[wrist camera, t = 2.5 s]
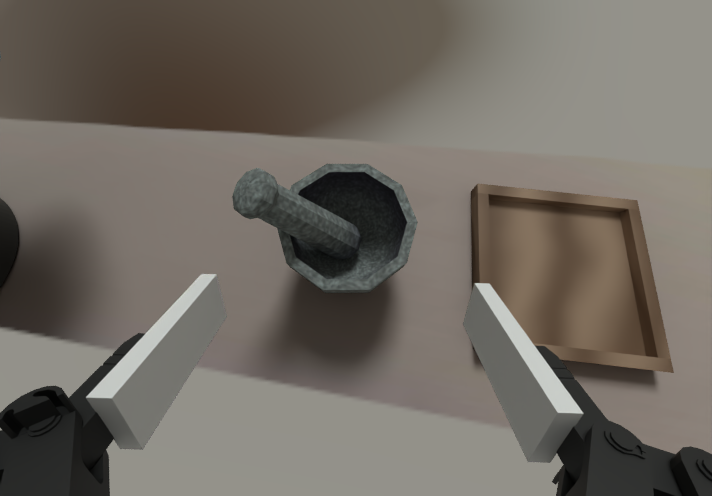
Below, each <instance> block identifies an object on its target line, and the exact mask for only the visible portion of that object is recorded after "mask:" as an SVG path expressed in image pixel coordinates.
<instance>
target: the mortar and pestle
mask: <svg viewBox="0 0 712 496" xmlns="http://www.w3.org/2000/svg"><path fill="white" fill-rule="evenodd" d="M233 205H234V209H235V210H236V211H237V212H238V213H240V214H241V215H242V216H244V217H246V218H249V219H253V218H260V219H262V220H263V221H265V222H267V223H269V224H271V225H273V226H275V227H277V229H278V233H279V237H280V240H281V244H282V248H283V252H284V255H285V259H286V263H287V264H288V265H289V266H290V267H291V268H292V269H294V270H295V271H296V272H298V273H299V274H300V275H302V276H303V277H304V278H306V279H307V280H308V281H310V282H311V283H313V284H314V285H315V286H317V287H318V288H319V289H321V290H322V291H323V292H325V293H359V292H370V291H372V290H373V289H374V288H376V287H377V286H378V285H380V284H381V283H382V282H384V281H385V280H386V279H388V278H389V277H390V276H392V275H393V274H394V273H396V272H397V271H398V270H400V269H401V268H402V267H404V265H405V264H406V263H407V259H408V256H409V252H410V248H411V244H412V241H413V237H414V233H415V230H416V226H417V220H416V217H415V215H414V213H413V210H412V208H411V206H410V203H409V201H408V199H407V196H406V194H405V192H404V189H403V187H402V185H400V184H399V183H397V182H396V181H394V180H392V179H391V178H389V177H388V176H386V175H384V174H383V173H381V172H379V171H378V170H376V169H375V168H373V167H371V166H370V165H368V164H326V165H324V166H322V167H321V168H319V169H318V170H316V171H314V172H313V173H311V174H309V175H308V176H306V177H305V178H303V179H301V180H300V181H298V182H297V183H295V184H293V185H292V186H291V189H290V190H288V189H286V188H284V187H282V186H280V185H278V184H277V182H276V180H275V177H274V176H272V175H270V174H269V173H267V172H265V171H263V170H261V169H260V168H256V169H253V170H251V171H248V172H246V173H245V174H244V175H243V177H242V178H241V179H240V180H239V181H238V182H237V184H236V187H235V190H234V193H233Z"/></svg>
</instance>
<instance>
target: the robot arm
mask: <svg viewBox="0 0 712 496" xmlns="http://www.w3.org/2000/svg"><path fill="white" fill-rule="evenodd" d="M0 58H1V56H0ZM17 246H18V227H17V222H16V219H15V216H14V214H13V212H12V210H11V209H10V207H9V206H8V205H7V204H6V203H5V202H4V201H3V200H2V199H1V198H0V286H1V285H2V283H3V282H4V280H5V278H6V276H7V275H8V273H9V271H10V269H11V266H12V264H13V261H14V258H15V255H16V251H17ZM226 317H227V314H226V310H225V306H224V302H223V298H222V294H221V290H220V286H219V282H218V277H217V274H201V275H200V276H199V277H198V278H197V280H196V281H195V282H194V283H193V284H192V285H191V286H190V287H189V288H188V289H187V290H186V291H185V292H184V293H183V294H182V295H181V297H180V298H179V299H178V300H177V301H176V302H175V303H174V304H173V305H172V306H171V307H170V308H169V309H168V310H167V311H166V313H165V314H164V315H163V316H162V317H161V318H160V319H159V320H158V321H157V322H156V323H155V324H154V325H153V326H152V327H151V328H150V330H149V331H148V332H147V333H146V334H142V333H138V334H137V335H135V336H134V337H132V338H130V339H129V340H127V341H126V342H124V343H123V344H122V345H121V346H120V347H119V348H118V349H117V350H116V351H115V352H114V353H113V355H112V356H110V357H109V358H108V359H107V360H106V361H105V362H104V364H103V366H100V367H99V368H98V369H97V370H96V371H95V372H94V373H93V374H92V375H91V376H90V377H89V378H88V379H87V381H85V382H84V383H83V384H82V385H81V386H80V387H79V388H78V389H77V390H76V391H75V392H74V393H73V394H72V396H70V397H69V398H68V397H67V395H66V394H65V393H64V391H63V390H62V388H59V387H57V386H46V387H43V388H40V389H36V390H33V391H31V392H29V393H27V394H25V395H23V396H21V397H20V398H18V399H17V400H15V401H14V402H12V403H11V404H9V405H8V406H7V407H6V408H5V409H4V410H3V411H2V412H1V413H0V428H1V429H2V431H0V496H110V491H109V490H110V488H109V457H108V453H107V451H106V449H107V447H108V446H109V444H110V443H111V442H112V440H113V439H114V440H115V442H116V443H117V445H118V446H119V448H120V449H143V448H144V447H145V445H146V443H147V442H148V440H149V439H150V437H151V436H152V434H153V433H154V431H155V429H156V428H157V426H158V425H159V423H160V421H161V420H162V418H163V417H164V415H165V413H166V412H167V410H168V409H169V407H170V405H171V404H172V402H173V401H174V399H175V398H176V396H177V395H178V393H179V391H180V390H181V388H182V387H183V385H184V383H185V382H186V380H187V379H188V377H189V375H190V374H191V372H192V371H193V369H194V368H195V366H196V364H197V363H198V361H199V360H200V358H201V357H202V355H203V353H204V352H205V350H206V349H207V347H208V345H209V344H210V342H211V341H212V339H213V338H214V336H215V334H216V333H217V331H218V330H219V328H220V326H221V325H222V323H223V322H224V320H225V319H226ZM463 325H464V327H465V329H466V331H467V333H468V336H469V338H470V340H471V342H472V344H473V346H474V348H475V350H476V353H477V355H478V357H479V359H480V361H481V363H482V365H483V368H484V370H485V372H486V374H487V376H488V378H489V380H490V382H491V385H492V387H493V389H494V391H495V393H496V395H497V397H498V399H499V402H500V404H501V406H502V408H503V410H504V412H505V414H506V417H507V419H508V421H509V423H510V425H511V427H512V429H513V431H514V433H515V436H516V438H517V440H518V442H519V444H520V446H521V448H522V451H523V453H524V455H525V457H526V459H527V461H528V462H548V463H550V462H551V461H552V459H553V458H554V456H555V455H556V453H557V454H558V456H559V457H560V459H561V461H562V463H563V464H564V465H563V466H562V468H561V469H560V471H559V472H558V473H557V474H556V476H555V477H554V479H553V481H552V482H553V483H554V484H557V482H558V481H559V482H558V488H557V494H556V496H712V454H710V453H708V452H706V451H704V450H702V449H698V448H694V447H683V448H682V449H681V450H680V451H679V452H678V453H677V454H673V453H669V452H666V451H663V450H660V449H657V448H654V447H651V446H648V445H645V444H642V442H641V441H640V440H639V439H638V438H637V437H636V436H634V435H633V434H632V433H631V432H630V431H628V430H627V429H625V428H624V427H622V426H621V425H618V424H616V423H613V422H611V421H608V420H607V418H606V417H605V416H604V415H603V413H602V412H601V411H600V410H599V408H598V407H597V406H596V405H595V403H594V402H593V401H592V399H591V398H590V397H589V396H588V394H587V393H586V392H585V391H584V389H583V388H582V387H581V385H580V384H579V383H578V382H577V380H575V379H574V377H573V375H572V374H571V373H570V371H569V370H567V368H566V366H565V365H564V364H563V363H562V361H561V360H560V359H559V357H558V356H557V355H555V354H554V353H553V352H552V351H550V350H549V349H548V348H547V347H545V346H534V344H533V343H532V341H531V340H530V339H529V337H528V336H527V335H526V333H525V332H524V330H523V329H522V328H521V326H520V325H519V324H518V322H517V321H516V319H515V318H514V317H513V315H512V314H511V312H510V311H509V310H508V308H507V307H506V306H505V304H504V303H503V301H502V300H501V299H500V297H499V296H498V295H497V293H496V292H495V290H494V289H493V288H492V286H491V285H490V283H474V287H473V290H472V294H471V297H470V301H469V305H468V308H467V312H466V315H465V319H464V322H463Z"/></svg>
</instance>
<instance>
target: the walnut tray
mask: <svg viewBox="0 0 712 496" xmlns="http://www.w3.org/2000/svg"><path fill="white" fill-rule="evenodd" d="M471 220H472V290H473V287H474V283H490V285H491V286H492V288H493V289H494V290H495V292H496V293H497V295H498V296H499V297H500V299H501V300H502V301H503V303H504V304H505V306H506V307H507V308H508V310H509V311H510V312H511V314H512V315H513V317H514V318H515V319H516V321H517V322H518V324H519V325H520V326H521V328H522V329H523V330H524V332H525V333H526V335H527V336H528V337H529V339H530V340H531V341H532V343H533V344H534V346H545V347H547V348H548V349H549V350H550V351H552V352H553V353H554V354H555V355H557V356H558V357H559V359H560V360H569V361H578V362H586V363H595V364H603V365H612V366H620V367H629V368H637V369H646V370H654V371H663V372H671V373H674V372H673V367H672V363H671V358H670V353H669V348H668V344H667V339H666V334H665V329H664V325H663V320H662V315H661V311H660V306H659V301H658V296H657V292H656V287H655V282H654V277H653V273H652V268H651V263H650V258H649V254H648V249H647V244H646V239H645V235H644V230H643V225H642V221H641V216H640V211H639V206H638V202H637V200H628V199H619V198H609V197H600V196H590V195H581V194H571V193H562V192H552V191H543V190H533V189H524V188H514V187H505V186H495V185H486V184H477V185H476V186H475V187H474V189H473V190H472V191H471ZM473 349H475V348H474V346H473Z"/></svg>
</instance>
